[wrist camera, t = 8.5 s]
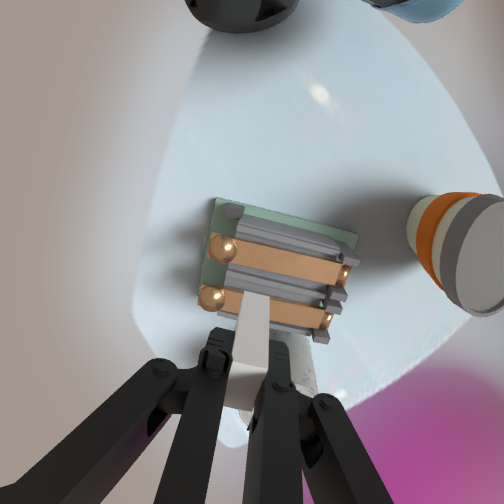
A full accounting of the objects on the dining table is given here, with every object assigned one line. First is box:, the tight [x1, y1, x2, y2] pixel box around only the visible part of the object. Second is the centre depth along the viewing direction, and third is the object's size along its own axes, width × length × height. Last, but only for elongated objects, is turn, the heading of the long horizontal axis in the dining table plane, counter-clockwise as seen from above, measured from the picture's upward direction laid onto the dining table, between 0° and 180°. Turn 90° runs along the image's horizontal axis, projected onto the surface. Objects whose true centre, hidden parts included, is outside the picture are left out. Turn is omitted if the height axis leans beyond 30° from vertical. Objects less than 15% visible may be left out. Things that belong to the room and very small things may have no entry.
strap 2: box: [198, 281, 334, 331], centre depth 33 cm, size 3×15×2 cm, turn 76°
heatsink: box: [197, 197, 360, 344], centre depth 35 cm, size 13×18×8 cm
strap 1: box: [207, 232, 352, 287], centre depth 31 cm, size 3×15×2 cm, turn 76°
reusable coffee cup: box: [406, 192, 504, 317], centre depth 29 cm, size 13×13×15 cm
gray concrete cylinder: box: [239, 328, 319, 426], centre depth 37 cm, size 10×10×12 cm
